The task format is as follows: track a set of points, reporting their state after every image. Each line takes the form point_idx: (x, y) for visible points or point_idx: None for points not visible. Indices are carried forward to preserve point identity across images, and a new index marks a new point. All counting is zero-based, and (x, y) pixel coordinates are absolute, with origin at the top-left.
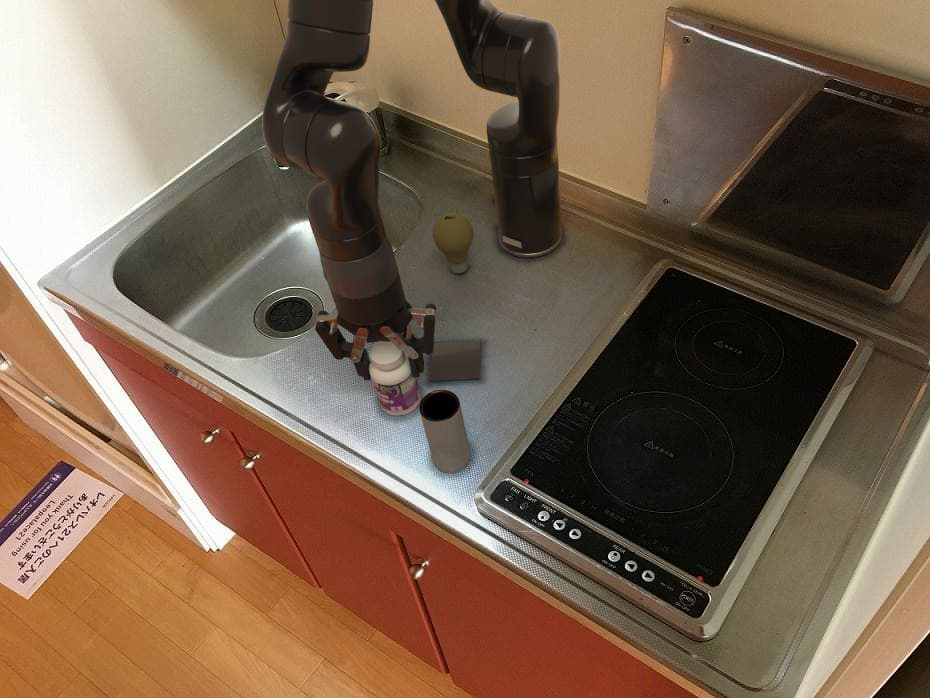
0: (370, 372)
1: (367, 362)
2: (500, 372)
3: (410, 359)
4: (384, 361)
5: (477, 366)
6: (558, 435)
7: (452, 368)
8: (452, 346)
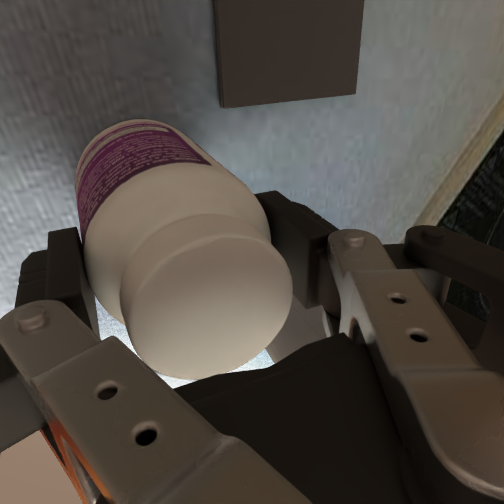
0: (113, 316)
1: (87, 290)
2: (397, 65)
3: (312, 304)
4: (221, 368)
5: (353, 48)
6: (458, 230)
7: (287, 55)
8: None
